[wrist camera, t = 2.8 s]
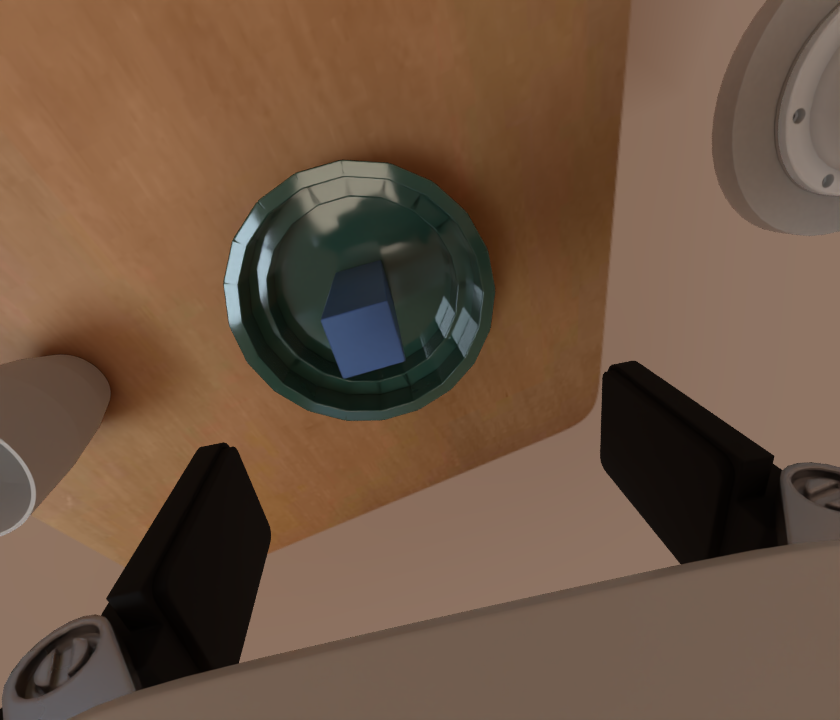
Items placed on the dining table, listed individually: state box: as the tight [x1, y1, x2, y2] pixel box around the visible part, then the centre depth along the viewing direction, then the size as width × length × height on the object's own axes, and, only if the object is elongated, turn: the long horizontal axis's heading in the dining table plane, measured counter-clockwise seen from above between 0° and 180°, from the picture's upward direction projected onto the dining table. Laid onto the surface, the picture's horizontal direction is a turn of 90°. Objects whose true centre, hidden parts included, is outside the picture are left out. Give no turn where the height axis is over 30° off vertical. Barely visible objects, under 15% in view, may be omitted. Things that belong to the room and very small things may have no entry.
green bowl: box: [223, 160, 495, 421], centre depth 27 cm, size 16×16×5 cm
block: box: [321, 260, 406, 379], centre depth 24 cm, size 3×3×10 cm
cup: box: [0, 355, 111, 536], centre depth 25 cm, size 8×8×10 cm
